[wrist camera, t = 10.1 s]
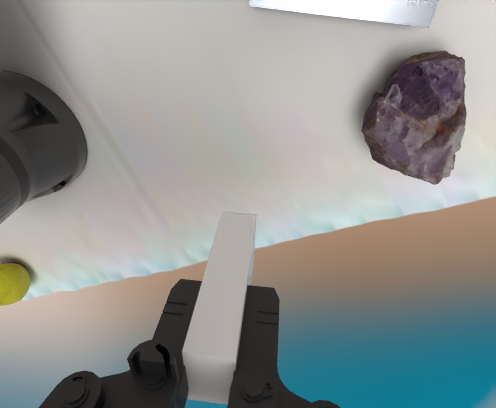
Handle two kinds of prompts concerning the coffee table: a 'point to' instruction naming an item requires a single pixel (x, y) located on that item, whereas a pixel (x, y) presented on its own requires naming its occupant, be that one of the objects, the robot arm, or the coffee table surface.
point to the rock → (419, 117)
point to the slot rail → (361, 9)
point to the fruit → (13, 283)
